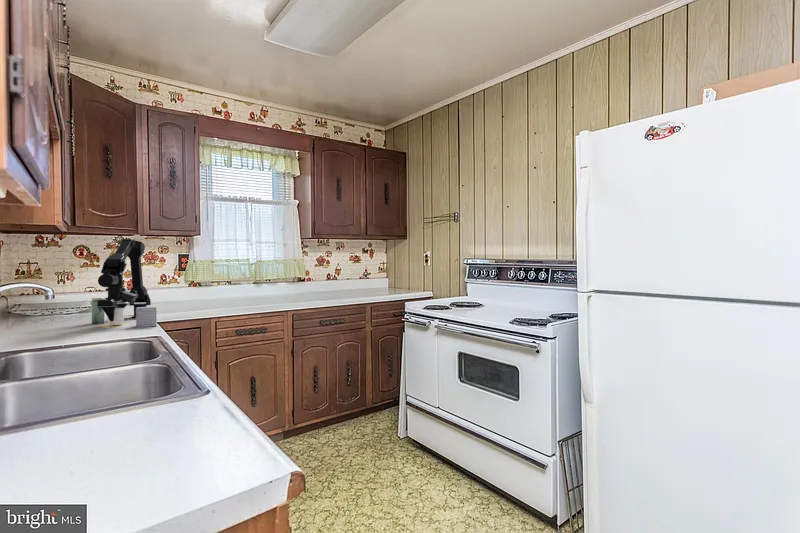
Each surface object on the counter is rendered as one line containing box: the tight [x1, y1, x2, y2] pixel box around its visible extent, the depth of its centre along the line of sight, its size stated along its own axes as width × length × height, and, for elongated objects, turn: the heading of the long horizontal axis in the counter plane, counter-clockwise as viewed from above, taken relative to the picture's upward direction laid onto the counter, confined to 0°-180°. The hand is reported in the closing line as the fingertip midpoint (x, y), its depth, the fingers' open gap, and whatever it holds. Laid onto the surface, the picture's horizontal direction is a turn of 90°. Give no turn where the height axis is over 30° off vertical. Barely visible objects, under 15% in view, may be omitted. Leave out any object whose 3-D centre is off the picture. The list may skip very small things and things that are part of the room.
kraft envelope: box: [95, 322, 131, 329], centre depth 192 cm, size 14×9×1 cm, turn 8°
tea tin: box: [91, 297, 106, 325], centre depth 197 cm, size 5×5×12 cm
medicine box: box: [135, 306, 158, 328], centre depth 191 cm, size 8×4×9 cm, turn 118°
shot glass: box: [106, 307, 126, 325], centre depth 192 cm, size 7×7×7 cm
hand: (115, 320), depth 192 cm, fingers closed on shot glass, 6 cm apart
